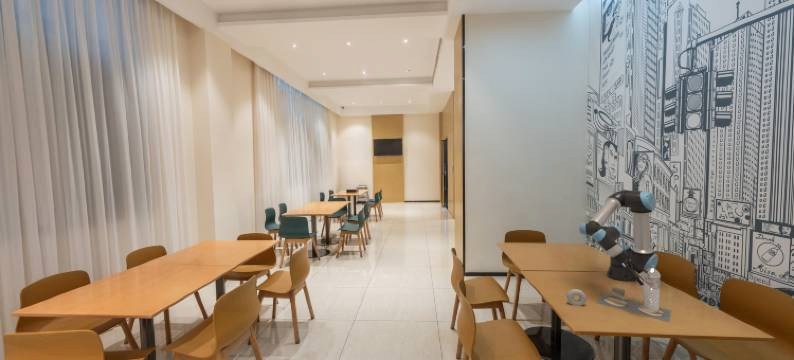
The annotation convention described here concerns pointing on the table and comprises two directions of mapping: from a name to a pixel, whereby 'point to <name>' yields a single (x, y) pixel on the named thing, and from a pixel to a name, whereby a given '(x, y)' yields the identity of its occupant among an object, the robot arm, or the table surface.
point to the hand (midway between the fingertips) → (649, 286)
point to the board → (635, 308)
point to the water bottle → (652, 290)
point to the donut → (576, 302)
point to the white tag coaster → (619, 295)
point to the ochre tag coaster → (650, 312)
